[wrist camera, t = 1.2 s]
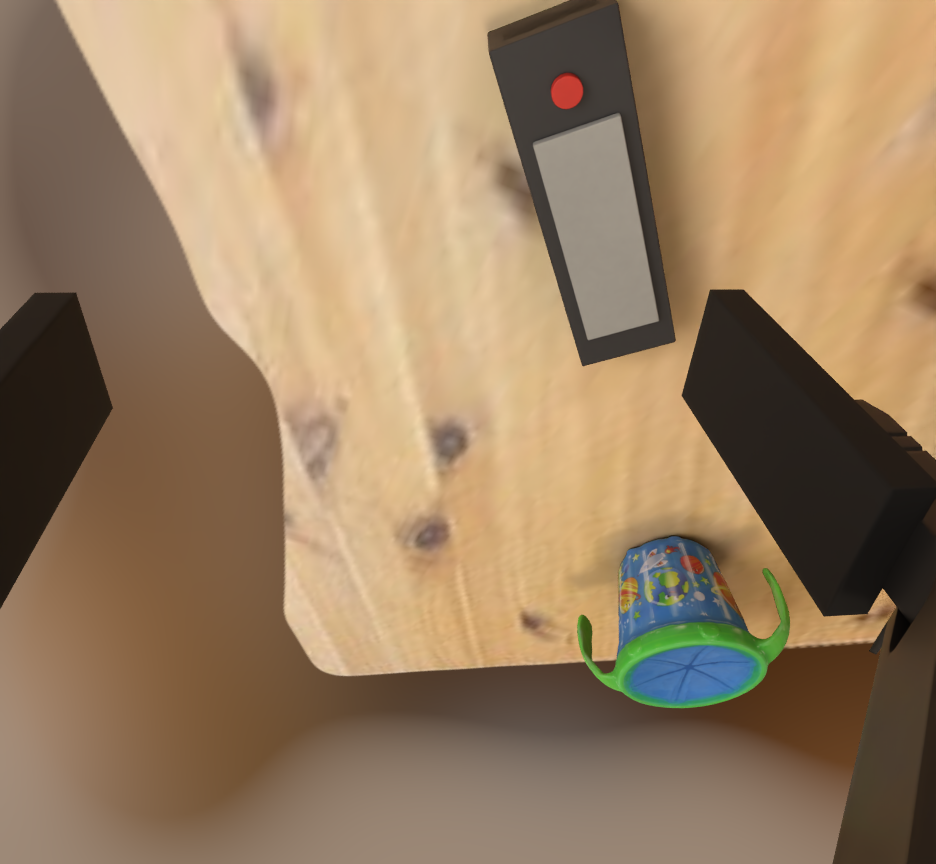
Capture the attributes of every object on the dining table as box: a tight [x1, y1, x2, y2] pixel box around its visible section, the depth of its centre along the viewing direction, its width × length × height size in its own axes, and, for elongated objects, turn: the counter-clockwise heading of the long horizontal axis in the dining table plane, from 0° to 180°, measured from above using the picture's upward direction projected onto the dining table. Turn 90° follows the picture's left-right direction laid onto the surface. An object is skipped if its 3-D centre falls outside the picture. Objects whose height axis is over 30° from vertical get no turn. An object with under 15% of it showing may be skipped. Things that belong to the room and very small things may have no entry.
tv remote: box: [488, 0, 676, 366], centre depth 33 cm, size 17×5×3 cm, turn 19°
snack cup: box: [577, 536, 790, 708], centre depth 53 cm, size 16×10×10 cm
